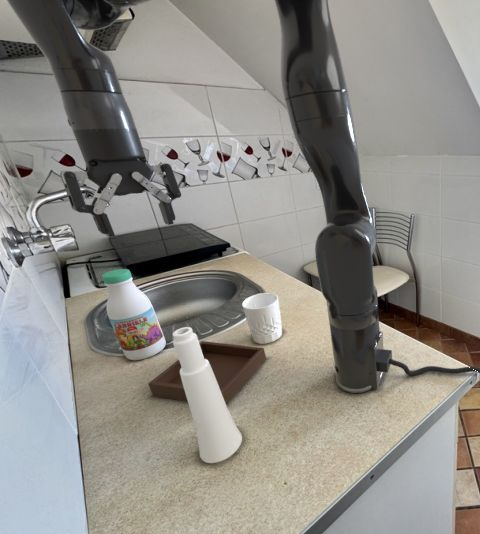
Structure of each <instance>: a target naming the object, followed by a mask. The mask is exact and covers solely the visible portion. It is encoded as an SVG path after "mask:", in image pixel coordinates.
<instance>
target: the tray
mask: <svg viewBox="0 0 480 534" xmlns="http://www.w3.org/2000/svg"><path fill="white" fill-rule="evenodd" d="M199 344H200V347H201V350H202V353H203V356H204V359H207V360H208V361H209V363H210V366H211V368H212V370H213V373H214V375H215V378H216V380H217V383H218V385H219V388H220V391H221V393H222V396H223V398H224V401H225V403H226V405H227V404H228V403H229V402H230V401H231V400H232V399H233V398H234V397H235V395H236V394H237V393H238V392H239V391H240V390H241V389H242V388H243V386H244V385H245V384H246V383H247V382H248V381H249V380H250V379H251V377H252V376H253V375H254V374H255V373H256V372H257V371H258V370H259V369H260V368H261V366H262V365H263V364H264V363H265V362H266V361H267V356H266V352H265V347H259V346H249V345H242V344H241V345H240V344H232V343H231V344H230V343H223V342H214V341H204V340H201V341H200V342H199ZM180 369H181V364H180V361H179V359H177V360H176V361H175V362H173V363H172V364H171V365H170V366H167V368H166V369H164V370H163V371H162V372H161V373H159V374H158V375H157V376H156V377H154V378H153V379H151V381H149V382H148V383H147V385H148V387H149V390H150V392H151V394H152V396H153V397H158V398H164V399H171V400H177V401H182V402H183V401H184V402H188V400H187V397H186V394H185V390H184V387H183V383H182V379H181V376H180Z"/></svg>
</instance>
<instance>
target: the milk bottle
mask: <svg viewBox="0 0 480 534" xmlns="http://www.w3.org/2000/svg"><path fill="white" fill-rule="evenodd" d="M132 276H133V275H132V273H131V271H130V269H128V268H119V269H114V270H110V271H107V272H105V273H103V274H102V275H101V279H102V281H103V283H104V286H105V287H106V288H107V293H108V294H107V301H106V313H107V317H108V319H109V322H110V326H111V327H112V329H113V332H114V334H115V336H116V338H117V341H118V343H119V346H120V348H121V349H122V353H123V354H124V357H125V358H126V359H128V360H130V361H141V360H144V359H145V360H146V359H148V358H151V357H153V356H155V355H157V354H158V353H160V352H162V351H163V350H164V348H165V347H166V345H167V341H166V337H165V336H164V332H163V330H162V326H161V324H160V322H159V319H158V316H157V314H156V311H155V309H154V307H153V304H152V302H151V301H150V300H151V299H149V297H148V296H147V295H146V294H145V293H144V292H143V291H142V290H140V288H138V286H136V284H135V283H134V282H133V277H132Z"/></svg>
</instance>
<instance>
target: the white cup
mask: <svg viewBox="0 0 480 534" xmlns="http://www.w3.org/2000/svg"><path fill="white" fill-rule="evenodd" d="M241 306H242V310H243V313H244V316H245V320H246V322H247V326H248V328H249V329H248V330H249V331H250V333H251V337H252V340H253V341H254V343H256V344H260V345H263V344H266V345H267V344H270V343H274V342H275V341H277V340H279V339H280V338H281V337H282V335H283V328H282V317H281V309H280V302H279V296H278V295H277V294H275V293H272V292H261V293H257V294H253V295H250V296H249V297H246V298H245V299H244V300H243V301H242V303H241Z"/></svg>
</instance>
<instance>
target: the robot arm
mask: <svg viewBox="0 0 480 534" xmlns="http://www.w3.org/2000/svg"><path fill="white" fill-rule="evenodd" d="M6 1H7V3H8V5H9V6H10V8H11V9H12V11H13V13H14V14H15V15H16V16H17V18H18V19H19V21H20V22H21V24H22V26H23V27H24V28H25V30H26V31H27V33H28V34H29V35H30V37H31V39H32V40H33V42H34V43H35V45H36V46H37V47H38V49H39V50H40V51H41V53H42V54H43V56H44V57H45V59H46V60H47V63H48V66H49V68H50V70H51V74H52V75H53V78H54V81H55V83H56V86H57V88H58V91H59V93H60V94H59V95H60V97H61V101H62V105H63V109H64V112H65V115H66V118H67V123H68V125H69V127H70V128H71V130H72V133H73V135H74V138H75V141H76V143H77V145H78V147H79V150H80V153H81V156H82V158H83V160H84V163H85V170H83V171H82V170H81V171H72V170H71V171H70V170H61V171H60V173H59V175H60V178H61V181H62V184H63V187H64V191H65V193H66V195H67V199H68V201H69V204H70V207H71V210H73V211H75V212H78V213H79V214H81V213H82V214H83V213H84V214H90V215H91V216H92V219H93V221H94V223H95V225H96V228H97V231H98V232H99V233H101V235H105V236H106V237H107V238H112V237H115V236H116V234H115V231H114V228H113V226H112V224H111V222H110V219H109V217H108V214H107V213H106V212H105V210H106V208H107V206H108V204H109V203H110V202H111V200H112V199H113V197H114V196H118V197H122V196H126V195H127V196H128V195H129V194H136V195H138V194H142V193H143V192H145V193H147V194H149V195H151V197H153V198H155V199H156V200H157V201H159V202H158V203H157V205H158V207H159V210H160V215H161V216H162V220H163V223H164V224H165V225H168V226H170V225H174V221H176V215H175V211H174V208H173V204H172V202H173V201H174V200H176V199H180V198H181V197H182V192H181V190H180V187H179V184H178V181H177V178H176V176H175V173H174V170H173V167H172V165H171V164H170V163H167V162H159V163H158V164H153V165H150V163H149V162H148V160H147V157H146V153H145V151H144V148H143V144H142V141H141V138H140V136H139V132H138V129H137V125H136V123H135V120H134V117H133V114H132V111H131V109H130V107H129V105H128V103H127V101H126V98H125V95H124V92H123V90H122V86H121V83H120V81H119V77H118V75H117V72H116V69H115V65H114V63H113V61H112V59H111V57H110V56H109V55H108V54H107V53H106V52H105V51H103V50H102V49H100V48H98V47H96V46H94V45H93V44H92V43H90V42H88V41H87V40H86V39H85V38H84V36H83V35H82V34H81V32H80V31H81V30H83V31H97V30H98V31H99V30H103V29H106V28H108V27H110V26H111V25H113V24H114V23H115V22H116V21H117V20H118V19H119V18H121V17H122V16H123V15H125V13H127V11H128V10H129V9H131V8H132V7H136V6H139V5H142V4H145V3H148V2H152V0H6ZM274 4H275V6H276V10H277V14H278V19H279V26H280V35H281V36H280V37H281V39H280V40H281V45H280V46H281V47H280V49H281V50H280V80H281V89H282V94H283V95H282V96H283V100H284V103H285V107H286V111H287V115H288V120H289V123H290V126H291V130H292V133H293V136H294V139H295V141H296V144H297V146H298V148H299V150H300V152H301V154H302V156H303V158H304V160H305V161H306V163H307V166H308V167H309V168H310V170H311V172H312V174H313V176H314V178H315V180H316V182H317V184H318V187H319V189H320V195H321V199H322V202H323V208H324V213H325V214H324V215H325V220H326V221H325V223H326V225H325V226H324V227H323V228H322V230H321V231H320V232H319V233H318V235H317V236H316V240H315V248H314V251H315V252H314V253H315V262H316V263H315V264H316V269H317V274H318V280H319V285H320V291H321V294H322V296H323V298H324V300H325V301H326V306H327V307H326V309H327V316H328V323H329V331H330V332H329V333H330V339H331V347H332V353H333V354H332V355H333V361H332V363H333V368H334V372H335V373H334V374H335V382H336V385H337V386H338V388H340V389H341V390H342V391H344V392H346V393H351V394H361V393H366V392H369V391H371V390H374V391H375V390H379V389H378V388H379V386H380V384H381V381H382V379H383V375H384V373H389V370H390V366H391V365H392V366H395V367H398V368H400V369H402V370H403V371H404V374H406V375H407V376H410V377H415V376H419V375H421V374H425V373H427V372H438V373H442V374H448V375H450V374H451V375H455V374H456V375H457V374H465V373H472V372H474V373H477V374H478V373H479V374H480V367H479V366H463V367H456V368H448V367H443V366H435V365H428V366H423V367H420V368H418V369H415V370H410V368H409V366H408V365H407V364H405V363H403V362H402V361H398V360H395V359H393V350H390V349H384V333H383V331H381V330H380V318H379V317H380V315H379V299H378V289H377V287H376V285H375V284H374V283H375V279H374V267H373V255H374V252H375V250H376V246H377V232H376V228H375V225H374V221H373V218H372V214H371V212H370V208H369V205H368V200H367V197H366V193H365V190H364V186H363V182H362V176H361V167H360V159H359V151H358V144H357V138H356V136H357V135H356V131H355V124H354V117H353V111H352V106H351V100H350V95H349V91H348V86H347V85H348V84H347V82H346V81H347V80H346V76H345V73H344V68H343V63H342V58H341V54H340V49H339V46H338V42H337V39H336V35H335V31H334V27H333V22H332V19H331V13H330V7H329V0H274ZM154 173H155V174H156V175H157V176H158V177H159V178H161V179H162V182H163V184H164V187H165V190H166V192H164V191H162V189H161V188H159V187H158V186H156V184H154V183H153V182H152V181H151V179H152V177H153V174H154ZM86 179H88V180H89V181H90V182H92V183H93V184H95V185H97V186H98V187H97V188H96V190H95V192H94V194H93V198H92V200H91V203H90V204H87V203H86V201H85V199H84V196H83V192H82V190H81V187H82V186H84V185H85V180H86ZM469 367H470V368H469ZM473 369H474V370H473ZM475 370H476V371H475ZM477 371H478V372H477Z"/></svg>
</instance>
